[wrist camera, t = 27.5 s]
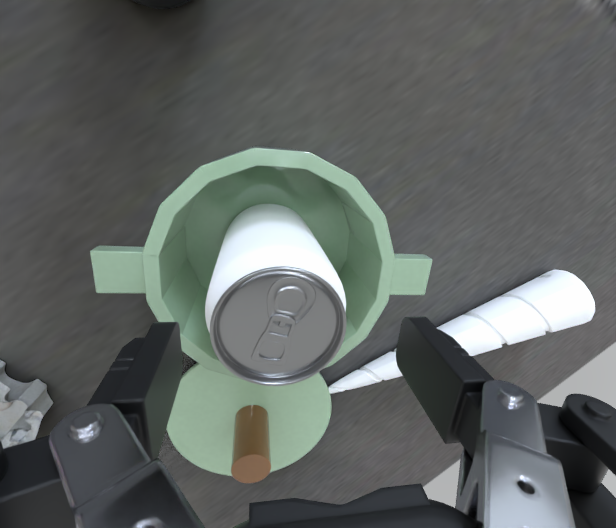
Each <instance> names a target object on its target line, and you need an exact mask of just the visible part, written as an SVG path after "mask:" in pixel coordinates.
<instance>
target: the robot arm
mask: <svg viewBox="0 0 616 528" xmlns="http://www.w3.org/2000/svg"><path fill="white" fill-rule="evenodd" d="M396 362H397V366H398V368H399V370H400V372H401V373H402V375H403V377H404V378H405V380H406V381H407V383H408V385H409V386H410V388H411V389H412V391H413V393H414V394H415V396H416V397H417V399H418V401H419V402H420V404H421V405H422V407H423V409H424V410H425V412H426V414H427V415H428V417H429V418H430V420H431V422H432V423H433V425H434V426H435V428H436V430H437V431H438V433H439V434H440V436H441V438H442V439H443V441H444V442H445V444H448V443H459V442H461V444H462V445H463V451H462V454H461V461H460V470H459V479H458V489H457V498H456V506H455V508H454V507H451V506H449V505H446V504H444V503H441V502H438V501H434V500H430V499H428V498H427V495H426V494H425V491H424V489H423V487H422V485H421V484H413V485H404V486H395V487H386V488H380V489H378V490H376V491H374V492H371V493H369V494H367V495H365V496H362V497H360V498H358V499H355V500H353V501H351V502H349V503H346V504H343V505H336V504H330V503H323V502H317V501H310V500H304V499H297V498H290V499H282V500H273V501H264V502H256V503H250V505H249V520H247V521H245V522H243V523H240V524H238V525H237V526H235V527H233V528H616V498H615V497H614V496H613V495H612V494H611V493H610V491H608V489H607V488H606V487H605V486H604V485H603V484H602V483H601V482H602V480H603V478H604V476H605V475H606V473H607V471H608V469H610V470H611V471H612V472H613V473H614V474H615V475H616V409H615V408H613V407H612V406H610V405H609V404H607V403H605V402H603V401H601V400H598V399H596V398H593V397H590V396H587V395H583V394H571V395H568V396H567V397H566V399H565V401H564V404H563V406H562V407H557V406H552V405H546V404H541V403H537V401H536V400H535V399H534V397H533V396H531V395H530V394H529V393H528V392H527V391H525V390H524V389H522V388H520V387H519V386H517V385H514V384H512V383H509V382H506V381H501V380H494V379H493V378H492V377H491V376H490V375H489V374H488V373H487V372H486V371H485V370H484V369H483V368H482V367H481V366H480V365H479V364H478V363H477V362H476V360H475V359H474V358H473V357H472V356H469V353H468V352H467V351H466V350H465V349H464V348H461V345H460V344H459V343H458V342H457V341H456V340H455V339H454V338H453V337H451V336H450V335H448V334H446V333H445V332H443V331H441V330H440V329H437V328H436V327H435V326H434V325H433V324H432V323H431V322H430V321H429V320H428V319H427V318H426V317H405V318H404V319H403V320H402V324H401V329H400V334H399V339H398V344H397V349H396ZM182 367H183V360H182V348H181V337H180V326H179V323H178V322H154V323H153V324H152V326H151V328H150V330H149V332H148V333H147V335H146V337H145V338H135V339H133V340H132V341H131V342H129V343H128V344H127V345H126V346H124V347H123V348H122V349H121V351H120V353H119V354H118V356H117V358H116V359H115V361H114V362H113V364H112V366H111V367H110V370H109V371H108V372H107V374H106V375H105V377H104V379H103V380H102V382H101V383H100V385H99V387H98V388H97V390H96V391H95V393H94V395H93V396H92V398H91V400H90V401H89V403H88V404H87V406H85V407H82V408H80V409H78V410H76V411H74V412H72V413H70V414H68V415H67V416H66V417H64V418H63V419H62V420H60V421H59V422H58V423H57V424H56V426H55V427H54V428H53V430H52V431H51V433H50V435H48V436H45V437H42V438H39V439H35V440H32V441H29V442H25V443H22V444H18V445H15V446H12V447H8V448H5V449H3V446H2V443H1V441H0V528H205V527H204V526H203V524H202V522H201V521H200V519H199V518H198V516H197V515H196V513H195V512H194V510H193V509H192V507H191V506H190V504H189V502H188V501H187V499H186V498H185V496H184V495H183V493H182V492H181V490H180V489H179V487H178V485H177V484H176V482H175V481H174V479H173V478H172V476H171V475H170V473H169V472H168V470H167V469H166V467H165V466H164V464H163V463H162V461H161V460H160V459H158V454H159V451H160V448H161V444H162V441H163V438H164V434H165V431H166V428H167V424H168V421H169V417H170V414H171V411H172V407H173V404H174V401H175V397H176V394H177V391H178V387H179V384H180V381H181V376H182Z"/></svg>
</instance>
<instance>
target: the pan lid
mask: <svg viewBox="0 0 616 528" xmlns="http://www.w3.org/2000/svg"><path fill="white" fill-rule="evenodd" d="M331 406H332V404H331V396H330V393H329V389H328V386H327V384H326V382H325V380H324V378H323V376H322V375H321V374H320V372H318V373H317V374H315V375H314V376H312V377H310V378H308V379H306V380H303V381H301V382H298V383H294V384H290V385H284V386H264V385H258V384H254V383H251V382H248V381H245V380H242V379H239V378H235V377H232V376H229V375H225V374H222V373H218V372H215V371H212V370H208V369H206V368H204V367H203V366H202V365H200V364H199V363H196V364H195V365H194V366H192V367H191V368H190V369H189V370H188V371H187V372H186V373H185V374H184V375H183V376H182V377H181V381H180V384H179V387H178V391H177V394H176V397H175V401H174V404H173V407H172V411H171V414H170V417H169V421H168V424H167V432H168V434H169V437H170V439H171V441H172V443H173V445H174V446H175V448H176V449H177V450H178V451H179V453H180V454H182V455H183V456H184V457H185V458H186V459H187V460H189V461H190V462H192V463H193V464H195V465H197V466H198V467H200V468H202V469H205V470H208V471H210V472H214V473H218V474H222V475H229V476H233V477H234V479H236V480H237V481H239V482H242V483H256V482H259V481H261V480H263V479H264V478H265V477H267V475H268V474H269V473H270V472H273V471H276V470H279V469H281V468H284V467H286V466H288V465H290V464H292V463H294V462H296V461H297V460H299V459H300V458H302V457H303V456H304V455H306V454H307V453H308V452H309V451H310V450H311V449H312V448H313V447H314V446H315V445H316V444H317V443H318V442H319V440H320V439H321V437H322V436H323V434H324V432H325V431H326V429H327V426H328V423H329V421H330V416H331Z"/></svg>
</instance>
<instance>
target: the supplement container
mask: <svg viewBox="0 0 616 528" xmlns="http://www.w3.org/2000/svg"><path fill="white" fill-rule="evenodd" d="M133 1H135V2H137V3H139V4H141V5H144V6H147V7H151V8H157V9H170V8H175V7H178V6H181V5H183V4H185V3H187V2H189V1H190V0H133Z"/></svg>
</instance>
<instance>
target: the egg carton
mask: <svg viewBox="0 0 616 528" xmlns="http://www.w3.org/2000/svg"><path fill="white" fill-rule="evenodd" d="M5 365H6V363H5V362H3V361H1V360H0V441H1V443H2V446H3V449H5V448H8V447H12V446H15V445H18V444H22V443H25V442H29V441H32V440H35V438H36V435H37V433H38V429H39V426H40V422H41V420H42V418H43V416H44V415H45V413H46V412H47V411H48V410H49V408H50V407H51V406H52V405H53V401H52V400H51V398H50V396H49V395H48V393H47V385H46V384H45V383H43V382H41V381H40V380H39V379H36V380H34V381H32V382H30V383H22V382H19V381H16V380H14V379H11V378H10V377H8V376H7V375H6V373H5Z"/></svg>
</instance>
